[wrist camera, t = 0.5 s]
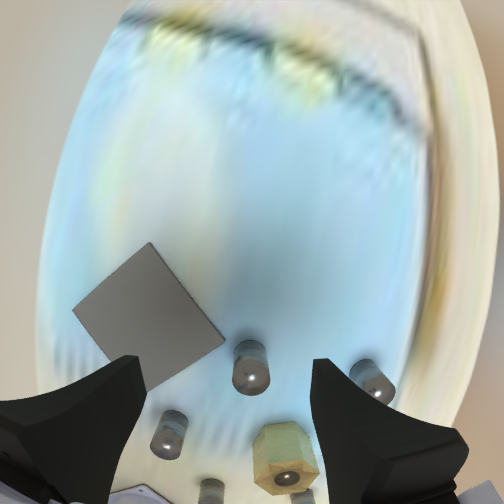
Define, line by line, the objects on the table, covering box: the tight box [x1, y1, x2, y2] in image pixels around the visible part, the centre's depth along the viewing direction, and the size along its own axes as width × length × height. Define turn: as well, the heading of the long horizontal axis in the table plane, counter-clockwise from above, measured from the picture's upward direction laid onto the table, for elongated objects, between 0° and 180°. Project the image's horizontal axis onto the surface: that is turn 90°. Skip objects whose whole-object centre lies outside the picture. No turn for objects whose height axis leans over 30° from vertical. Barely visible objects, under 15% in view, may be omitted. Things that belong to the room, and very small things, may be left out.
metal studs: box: [150, 340, 396, 504], centre depth 21 cm, size 21×20×4 cm
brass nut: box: [253, 421, 320, 496], centre depth 21 cm, size 4×5×5 cm
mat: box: [72, 243, 225, 392], centre depth 21 cm, size 9×9×1 cm
